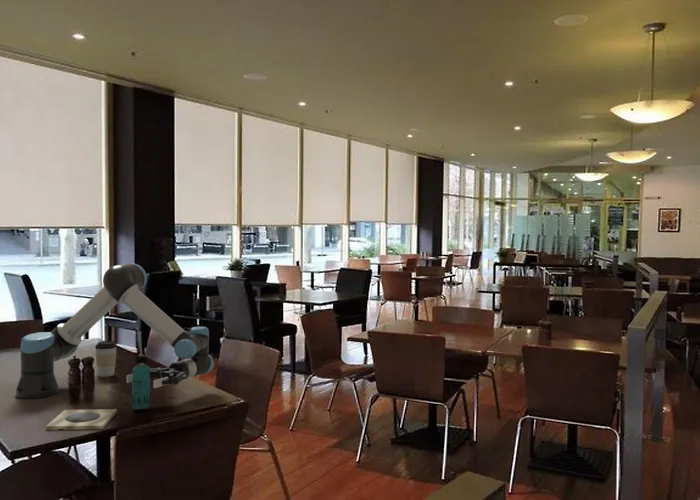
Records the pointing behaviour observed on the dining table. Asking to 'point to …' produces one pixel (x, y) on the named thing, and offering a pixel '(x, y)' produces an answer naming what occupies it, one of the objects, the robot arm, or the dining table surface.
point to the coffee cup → (105, 358)
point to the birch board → (82, 419)
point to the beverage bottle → (141, 384)
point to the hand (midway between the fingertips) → (140, 381)
